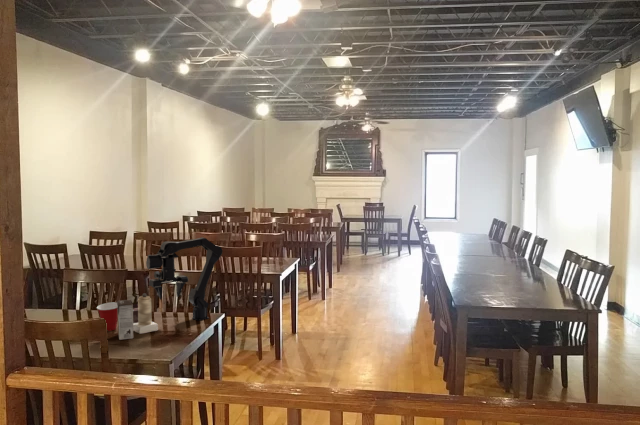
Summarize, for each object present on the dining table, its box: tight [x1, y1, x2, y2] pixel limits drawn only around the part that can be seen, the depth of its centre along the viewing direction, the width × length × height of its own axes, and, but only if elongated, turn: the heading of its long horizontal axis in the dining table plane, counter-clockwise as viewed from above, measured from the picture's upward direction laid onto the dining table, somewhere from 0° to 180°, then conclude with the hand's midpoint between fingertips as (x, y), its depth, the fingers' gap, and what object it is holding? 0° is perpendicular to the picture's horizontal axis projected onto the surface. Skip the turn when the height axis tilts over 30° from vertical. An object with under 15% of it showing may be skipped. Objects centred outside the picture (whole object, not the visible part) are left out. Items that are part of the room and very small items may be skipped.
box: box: [133, 307, 138, 323], centre depth 266 cm, size 6×6×7 cm
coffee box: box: [116, 299, 134, 341], centre depth 243 cm, size 9×6×16 cm
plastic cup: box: [96, 302, 118, 332], centre depth 255 cm, size 11×11×12 cm
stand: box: [133, 321, 159, 334], centre depth 254 cm, size 9×9×3 cm
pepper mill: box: [137, 292, 153, 325], centre depth 254 cm, size 6×6×15 cm
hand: (169, 298), depth 264 cm, fingers open, 9 cm apart
